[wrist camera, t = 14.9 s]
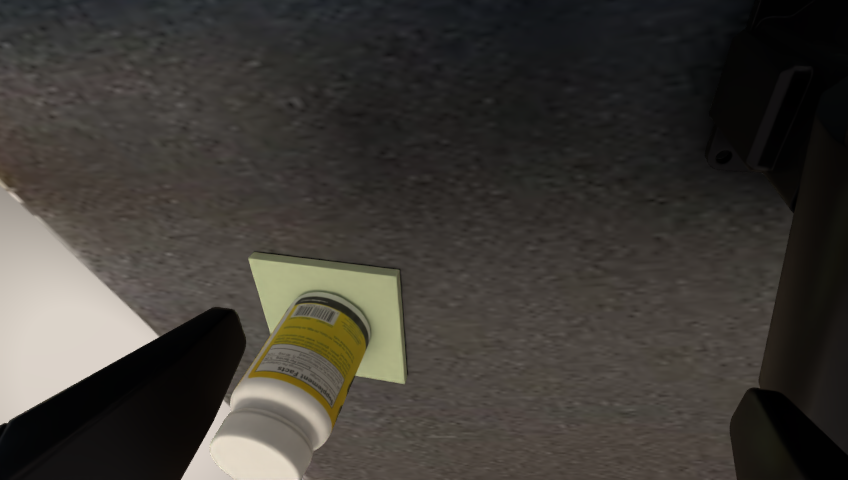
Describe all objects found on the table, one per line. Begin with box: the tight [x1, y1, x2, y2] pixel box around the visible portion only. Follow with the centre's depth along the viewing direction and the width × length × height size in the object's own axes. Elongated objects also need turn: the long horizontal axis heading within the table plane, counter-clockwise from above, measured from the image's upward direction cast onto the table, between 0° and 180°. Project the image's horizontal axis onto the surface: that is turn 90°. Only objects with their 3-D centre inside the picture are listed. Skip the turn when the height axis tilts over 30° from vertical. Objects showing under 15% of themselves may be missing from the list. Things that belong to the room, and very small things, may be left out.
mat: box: [248, 252, 407, 384], centre depth 26 cm, size 8×8×1 cm
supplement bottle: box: [210, 292, 370, 480], centre depth 23 cm, size 5×5×8 cm
